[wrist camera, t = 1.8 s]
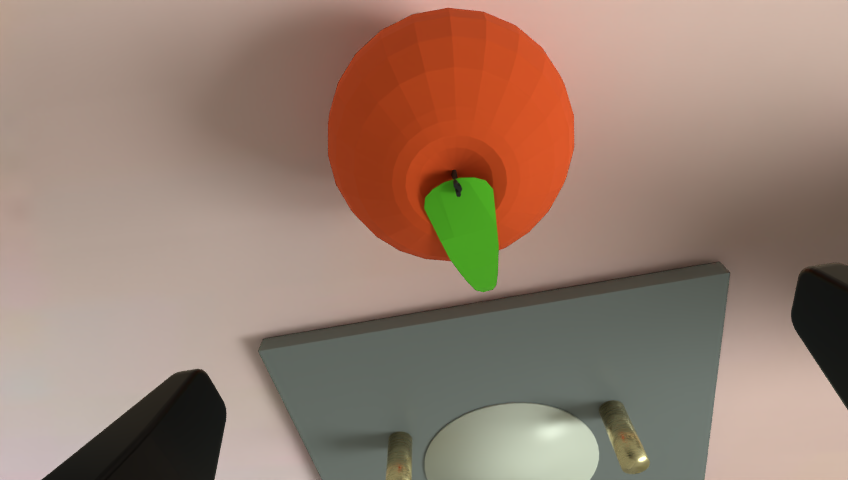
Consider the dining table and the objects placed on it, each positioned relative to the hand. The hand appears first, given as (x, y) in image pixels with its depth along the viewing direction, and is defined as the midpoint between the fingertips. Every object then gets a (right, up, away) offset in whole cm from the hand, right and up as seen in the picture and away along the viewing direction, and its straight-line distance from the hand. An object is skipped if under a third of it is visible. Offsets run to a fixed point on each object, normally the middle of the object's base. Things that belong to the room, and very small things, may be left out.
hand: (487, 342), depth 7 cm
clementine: (0, +6, +10) cm, 12 cm away
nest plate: (+4, -10, +19) cm, 21 cm away
